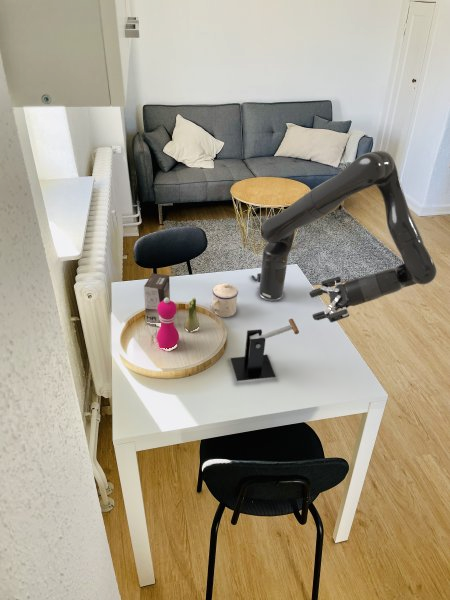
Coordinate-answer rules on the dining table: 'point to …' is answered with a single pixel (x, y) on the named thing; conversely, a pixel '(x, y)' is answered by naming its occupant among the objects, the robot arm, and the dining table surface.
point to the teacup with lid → (224, 299)
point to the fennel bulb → (192, 317)
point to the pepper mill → (167, 324)
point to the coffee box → (155, 296)
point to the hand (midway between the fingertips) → (311, 306)
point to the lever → (278, 331)
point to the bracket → (253, 360)
